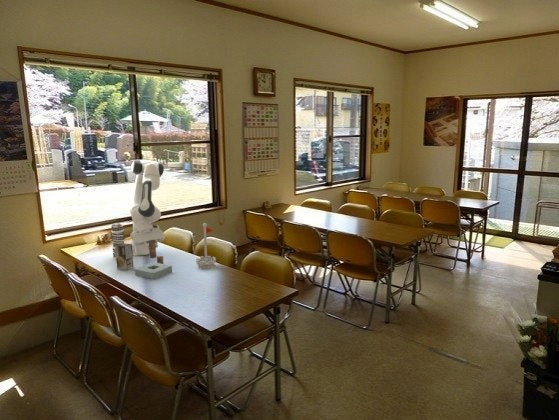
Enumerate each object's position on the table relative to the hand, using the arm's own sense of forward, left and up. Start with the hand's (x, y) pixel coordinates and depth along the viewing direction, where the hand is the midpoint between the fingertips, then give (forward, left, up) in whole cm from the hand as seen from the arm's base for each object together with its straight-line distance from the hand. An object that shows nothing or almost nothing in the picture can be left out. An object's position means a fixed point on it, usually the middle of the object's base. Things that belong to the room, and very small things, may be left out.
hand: (152, 247), depth 255 cm
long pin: (-1, 0, -6) cm, 6 cm away
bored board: (-1, 0, -17) cm, 17 cm away
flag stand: (+20, +27, -17) cm, 38 cm away
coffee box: (-26, -1, -17) cm, 31 cm away
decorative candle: (-48, +13, -17) cm, 52 cm away
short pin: (-8, +13, -17) cm, 23 cm away
